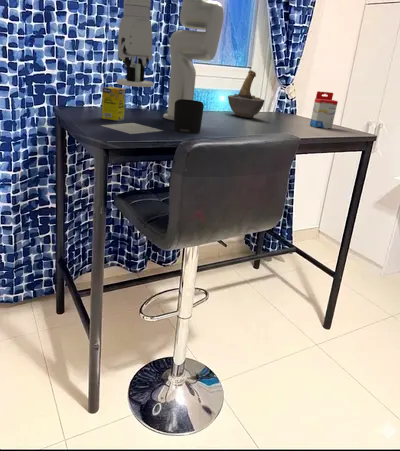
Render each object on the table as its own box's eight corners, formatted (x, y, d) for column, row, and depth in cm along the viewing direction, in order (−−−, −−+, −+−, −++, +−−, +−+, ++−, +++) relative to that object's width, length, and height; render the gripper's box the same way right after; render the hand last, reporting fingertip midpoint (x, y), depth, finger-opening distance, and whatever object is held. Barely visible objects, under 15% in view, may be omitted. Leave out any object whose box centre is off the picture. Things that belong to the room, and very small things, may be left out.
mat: (133, 124, 141) (133, 122, 141) (163, 132, 133) (163, 130, 133) (100, 127, 130) (100, 125, 130) (130, 135, 123) (130, 133, 123)
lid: (135, 82, 134) (136, 62, 132) (160, 86, 128) (161, 65, 126) (109, 82, 126) (109, 61, 124) (134, 87, 120) (134, 65, 118)
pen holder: (166, 130, 137) (168, 99, 134) (187, 129, 144) (190, 99, 140) (185, 136, 131) (188, 103, 128) (206, 134, 138) (210, 103, 134)
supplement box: (118, 123, 141) (119, 89, 136) (101, 120, 142) (101, 87, 137) (124, 120, 146) (125, 88, 142) (108, 118, 147) (109, 86, 143)
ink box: (315, 127, 179) (322, 92, 173) (309, 125, 183) (316, 91, 178) (332, 128, 181) (339, 93, 176) (326, 126, 186) (333, 92, 180)
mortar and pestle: (261, 121, 180) (268, 72, 173) (223, 116, 182) (228, 68, 175) (261, 117, 194) (268, 71, 186) (226, 112, 196) (232, 67, 188)
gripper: (148, 16, 127) (145, 79, 135) (105, 9, 115) (106, 79, 123) (166, 17, 123) (162, 82, 131) (124, 11, 111) (123, 83, 119)
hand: (135, 80), depth 127 cm, fingers closed on lid, 3 cm apart
